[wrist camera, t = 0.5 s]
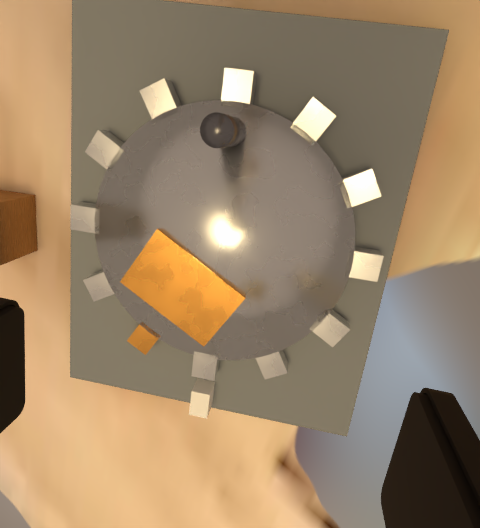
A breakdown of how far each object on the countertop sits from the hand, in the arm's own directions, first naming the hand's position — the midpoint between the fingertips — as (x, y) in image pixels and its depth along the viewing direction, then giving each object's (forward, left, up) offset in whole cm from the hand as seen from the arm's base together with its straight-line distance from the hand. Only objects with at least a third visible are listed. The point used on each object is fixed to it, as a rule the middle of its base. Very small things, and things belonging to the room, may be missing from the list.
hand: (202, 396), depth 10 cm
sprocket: (+2, -4, -23) cm, 24 cm away
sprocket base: (+2, -4, -25) cm, 25 cm away
